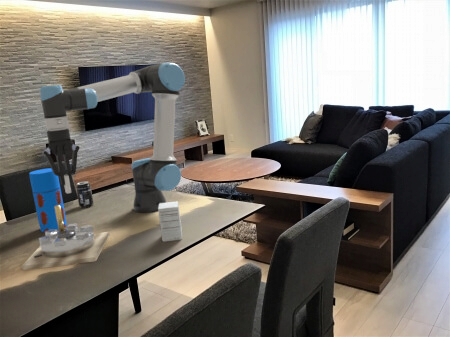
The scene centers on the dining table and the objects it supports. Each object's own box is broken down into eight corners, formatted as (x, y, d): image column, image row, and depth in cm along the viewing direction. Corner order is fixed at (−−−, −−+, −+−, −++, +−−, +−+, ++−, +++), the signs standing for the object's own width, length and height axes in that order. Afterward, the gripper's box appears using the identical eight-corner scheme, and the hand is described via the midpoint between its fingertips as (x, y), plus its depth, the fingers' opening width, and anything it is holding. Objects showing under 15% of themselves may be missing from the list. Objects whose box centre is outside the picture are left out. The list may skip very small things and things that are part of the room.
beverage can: (78, 205, 210) (74, 182, 208) (92, 203, 213) (88, 180, 211) (80, 209, 204) (76, 185, 202) (94, 206, 207) (90, 182, 204)
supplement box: (163, 234, 159) (158, 202, 156) (182, 232, 160) (178, 200, 157) (161, 242, 152) (157, 208, 149) (182, 239, 152) (178, 206, 150)
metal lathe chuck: (101, 246, 149) (95, 208, 146) (48, 262, 139) (40, 222, 136) (86, 233, 163) (80, 198, 160) (37, 247, 154) (29, 210, 151)
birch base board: (109, 235, 164) (108, 231, 164) (96, 261, 141) (95, 256, 140) (46, 242, 163) (46, 238, 162) (22, 270, 139) (21, 265, 139)
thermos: (57, 232, 174) (46, 173, 168) (34, 232, 176) (23, 174, 171) (71, 223, 184) (61, 167, 179) (50, 223, 186) (39, 168, 181)
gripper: (40, 132, 144) (52, 198, 149) (78, 127, 151) (89, 190, 156) (36, 131, 150) (47, 194, 155) (73, 126, 157) (83, 187, 162)
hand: (68, 192), depth 156 cm, fingers closed
